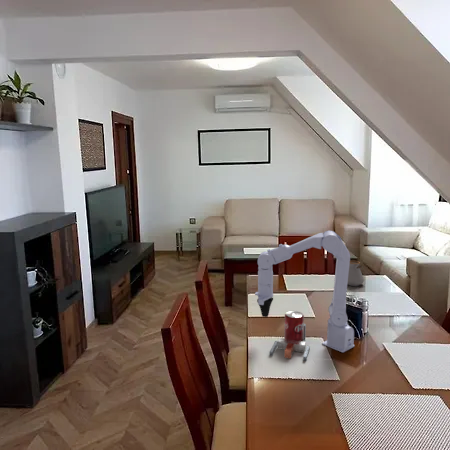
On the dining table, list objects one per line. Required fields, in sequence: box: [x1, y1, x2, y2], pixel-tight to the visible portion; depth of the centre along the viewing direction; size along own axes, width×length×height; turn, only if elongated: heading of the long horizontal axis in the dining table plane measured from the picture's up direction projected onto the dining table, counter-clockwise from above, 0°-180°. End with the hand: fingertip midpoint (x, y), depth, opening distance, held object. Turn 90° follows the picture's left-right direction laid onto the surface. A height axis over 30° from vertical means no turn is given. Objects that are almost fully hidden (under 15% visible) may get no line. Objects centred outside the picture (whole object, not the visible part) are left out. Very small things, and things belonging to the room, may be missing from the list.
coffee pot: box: [347, 260, 365, 287], centre depth 225 cm, size 21×12×15 cm, turn 175°
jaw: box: [277, 337, 307, 360], centre depth 151 cm, size 9×10×3 cm
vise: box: [269, 323, 311, 362], centre depth 156 cm, size 18×13×6 cm
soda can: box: [283, 310, 305, 342], centre depth 158 cm, size 7×7×12 cm
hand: (265, 316), depth 161 cm, fingers closed
